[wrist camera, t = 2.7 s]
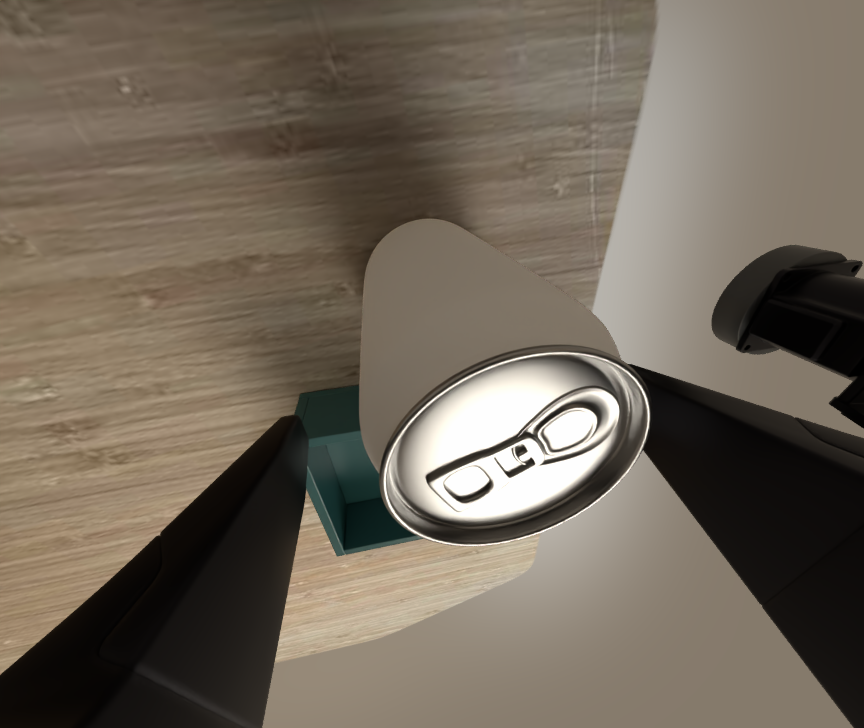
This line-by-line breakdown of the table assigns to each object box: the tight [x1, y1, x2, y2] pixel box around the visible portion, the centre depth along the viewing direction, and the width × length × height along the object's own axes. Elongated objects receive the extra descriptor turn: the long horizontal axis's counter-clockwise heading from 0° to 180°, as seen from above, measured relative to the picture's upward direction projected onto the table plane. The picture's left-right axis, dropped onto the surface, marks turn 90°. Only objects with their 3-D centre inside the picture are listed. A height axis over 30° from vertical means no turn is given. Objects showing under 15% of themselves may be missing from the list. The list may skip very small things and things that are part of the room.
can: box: [359, 219, 652, 546], centre depth 11 cm, size 6×6×12 cm
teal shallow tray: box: [294, 385, 424, 556], centre depth 20 cm, size 11×11×4 cm
